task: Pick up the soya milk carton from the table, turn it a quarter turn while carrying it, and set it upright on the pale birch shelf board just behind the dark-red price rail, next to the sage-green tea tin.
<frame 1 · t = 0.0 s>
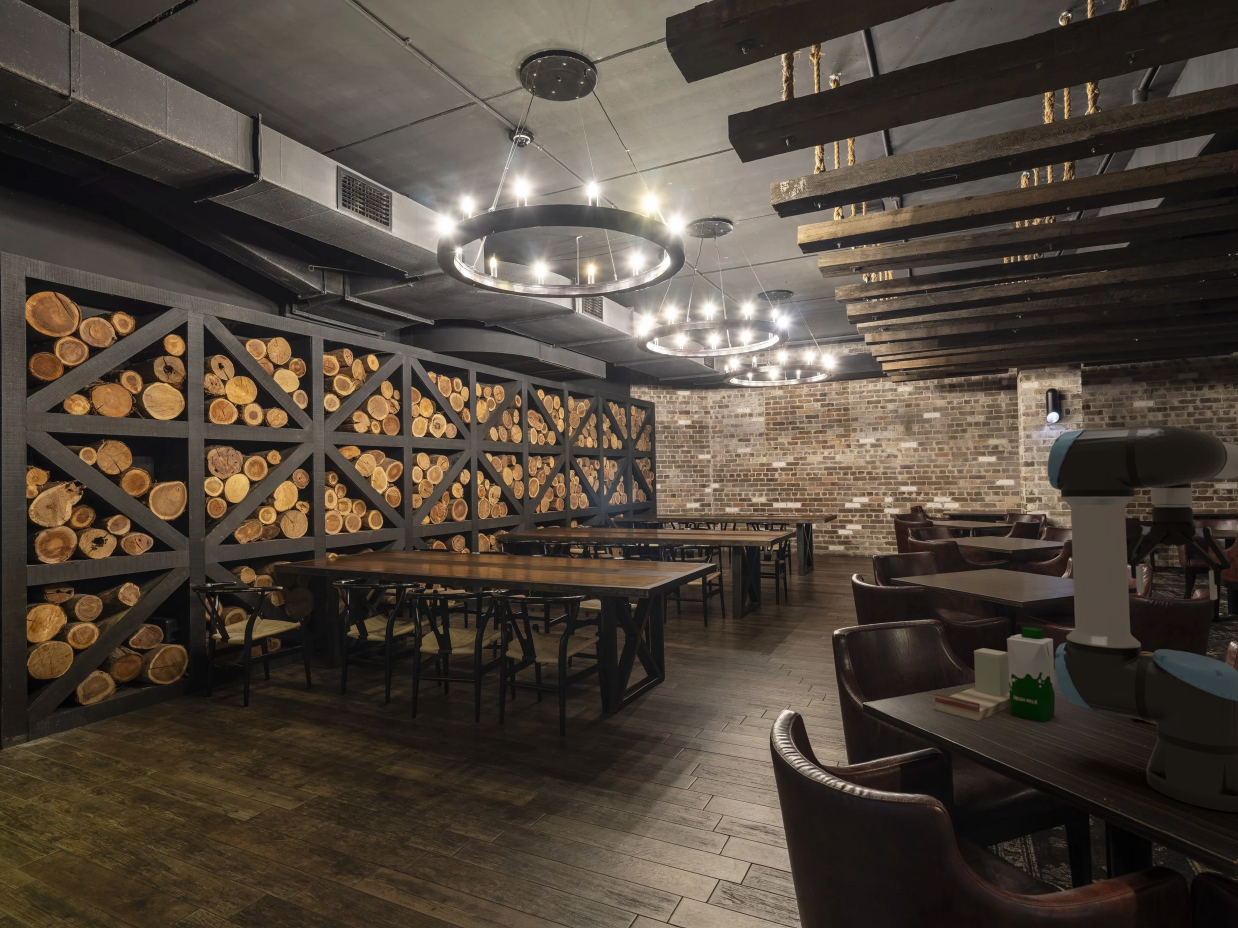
hand: (1175, 595, 157), 28 cm above the table, fingers open, 13 cm apart
tea tin: (992, 692, 168), point 2 cm above the table, touching shelf board
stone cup: (1147, 718, 155), on the table
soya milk: (1032, 716, 156), on the table
shelf board: (977, 706, 163), on the table
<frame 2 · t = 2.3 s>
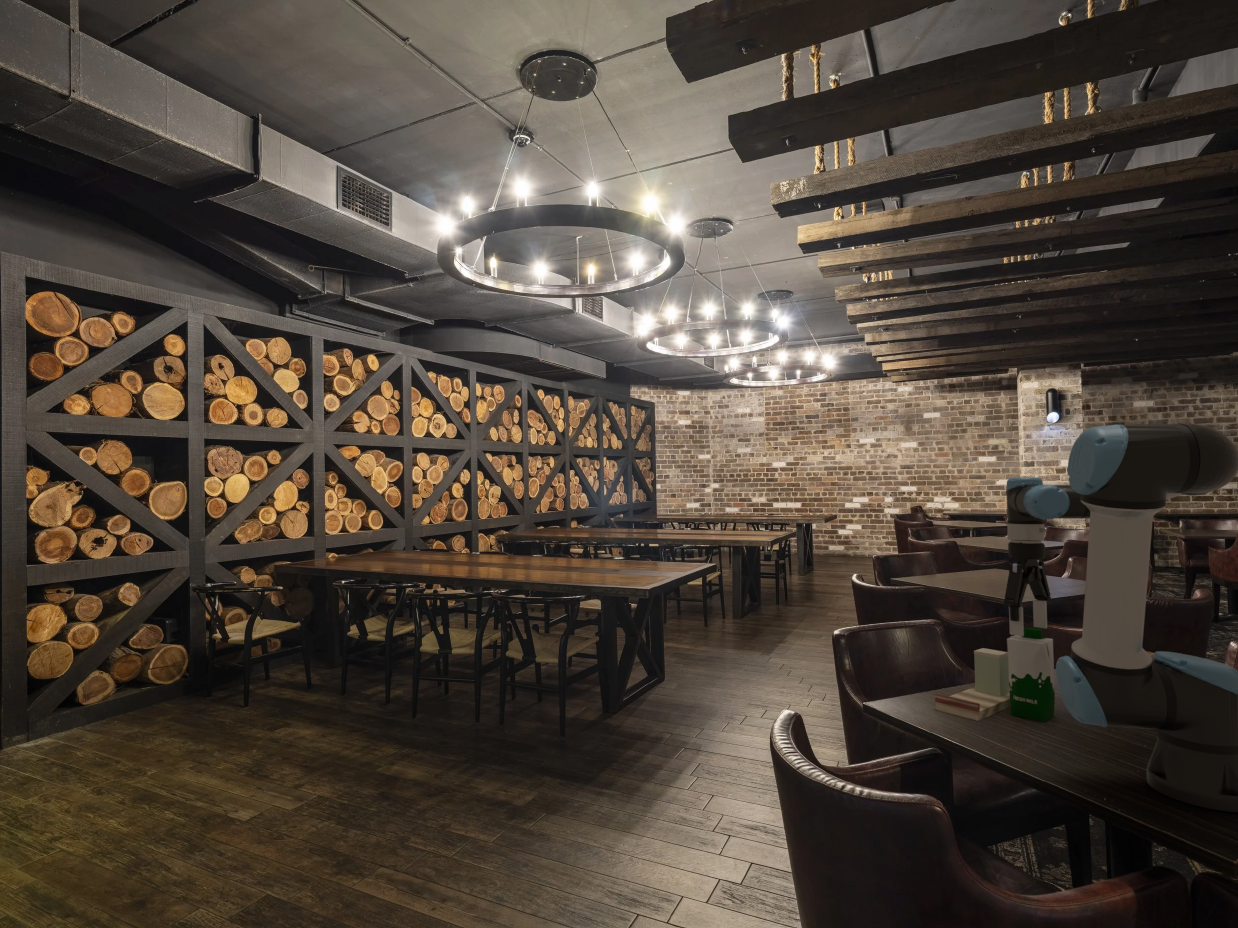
hand: (1028, 631, 157), 20 cm above the table, fingers open, 13 cm apart
nothing on the table moved.
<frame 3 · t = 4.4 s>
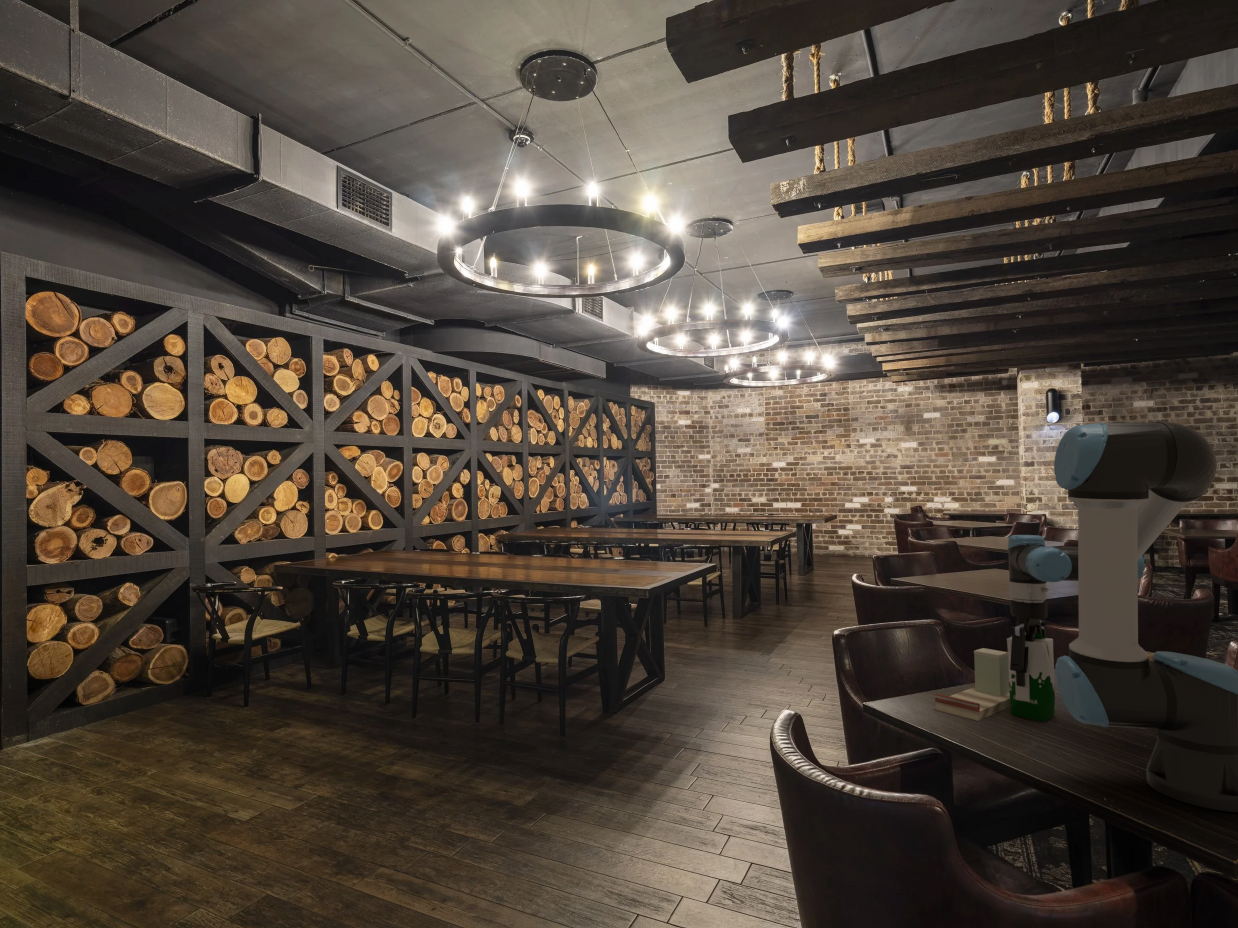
hand: (1031, 696, 156), 4 cm above the table, fingers closed on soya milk, 9 cm apart
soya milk: (1032, 716, 156), on the table, touching gripper
everything else where it was.
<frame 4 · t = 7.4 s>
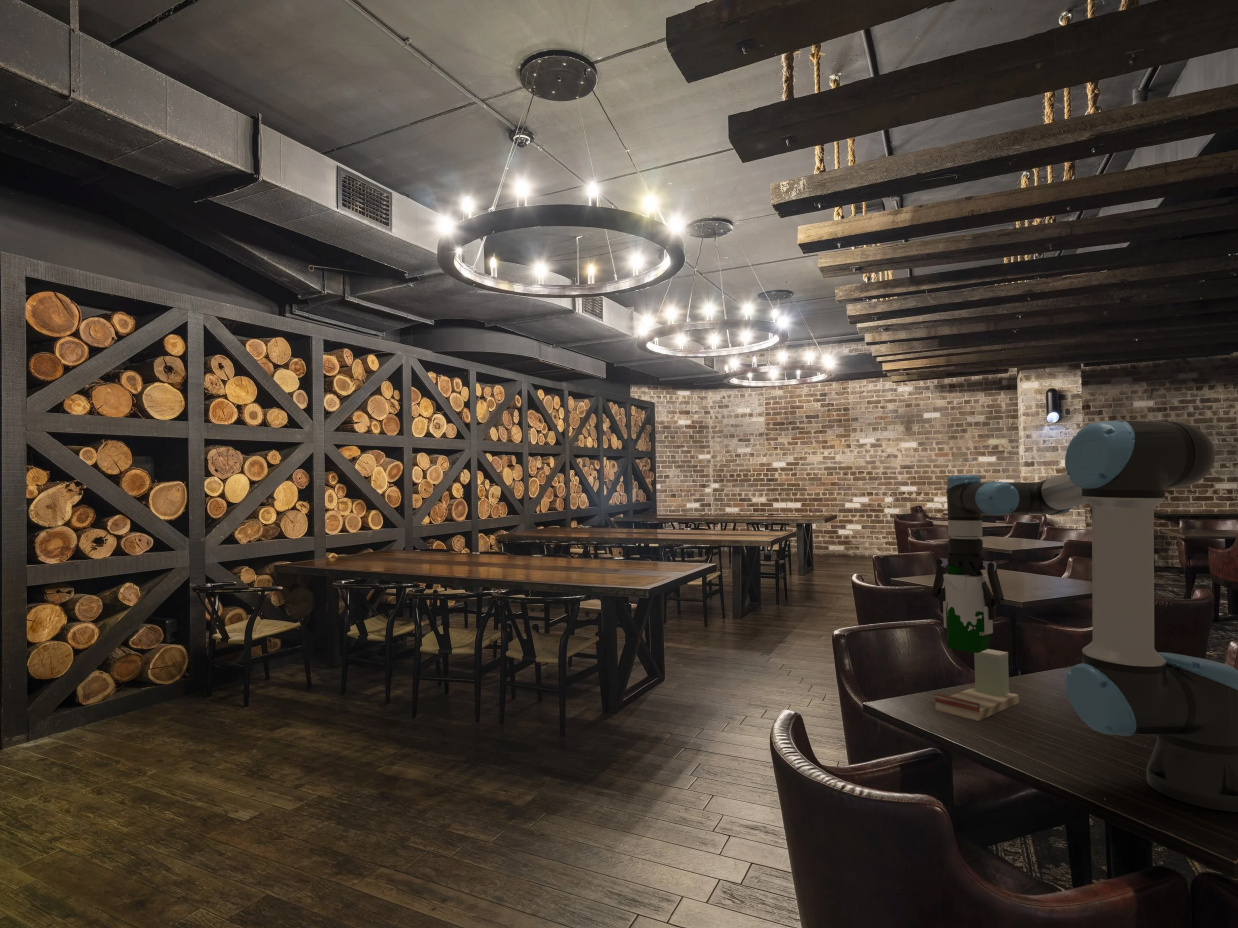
hand: (967, 630, 161), 19 cm above the table, fingers closed on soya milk, 9 cm apart
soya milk: (968, 649, 161), point 14 cm above the table, touching gripper
everything else where it was.
when the fingers open (7 cm above the table, at t = 10.3 s): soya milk stays where it is, resting on shelf board.
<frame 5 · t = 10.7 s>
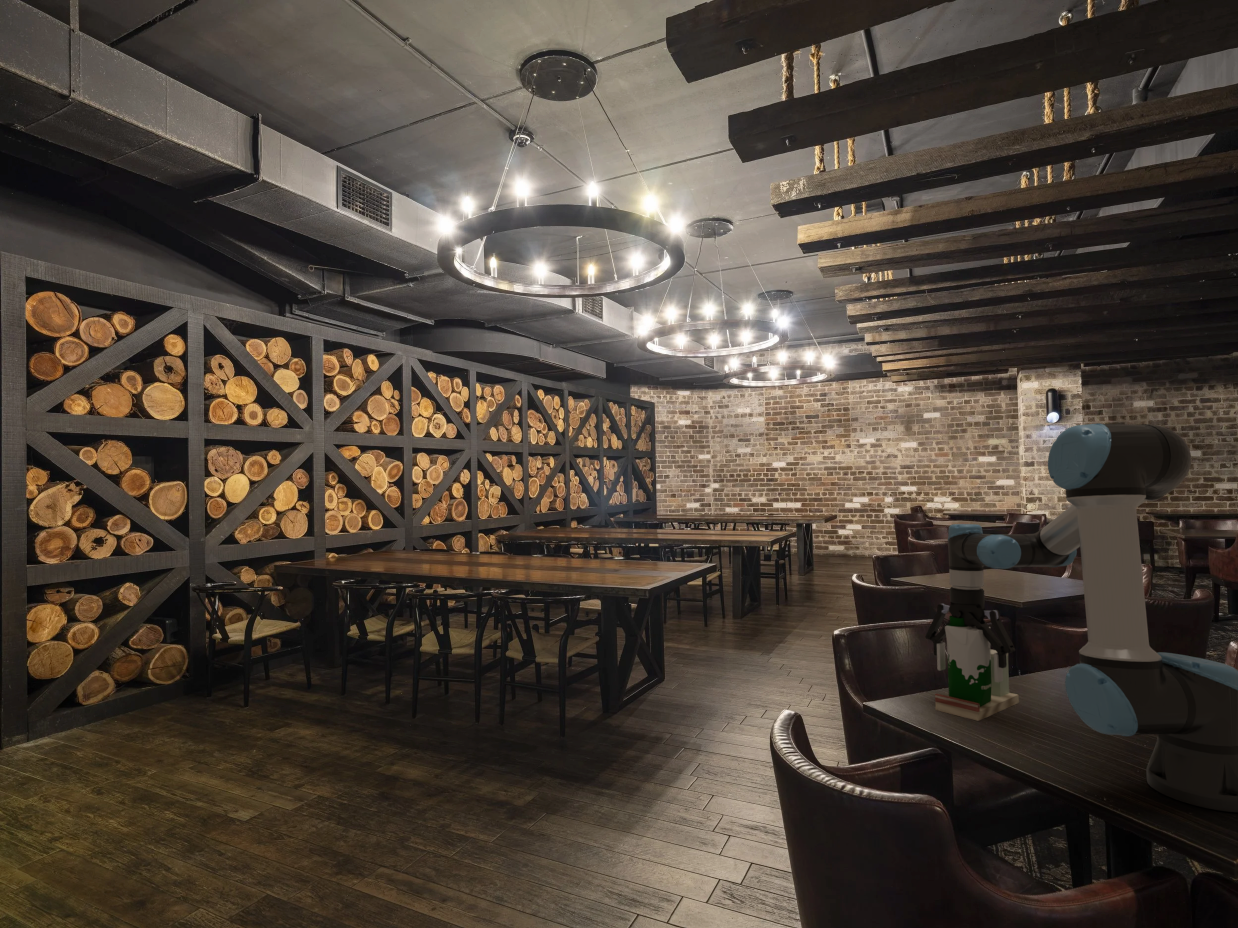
hand: (969, 675, 161), 8 cm above the table, fingers open, 13 cm apart
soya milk: (970, 701, 160), point 2 cm above the table, touching shelf board
everything else where it was.
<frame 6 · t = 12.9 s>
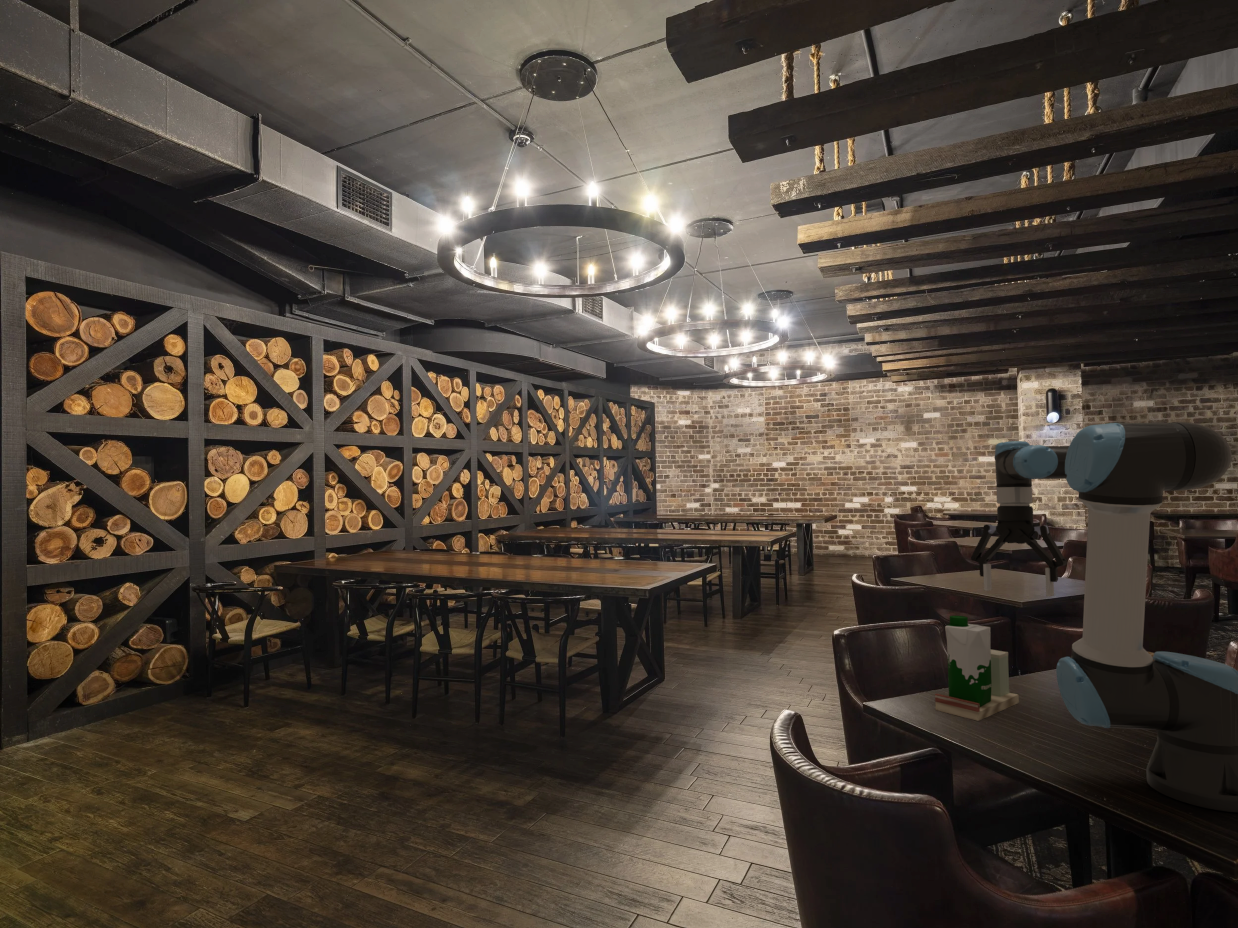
hand: (1018, 593, 160), 28 cm above the table, fingers open, 13 cm apart
nothing on the table moved.
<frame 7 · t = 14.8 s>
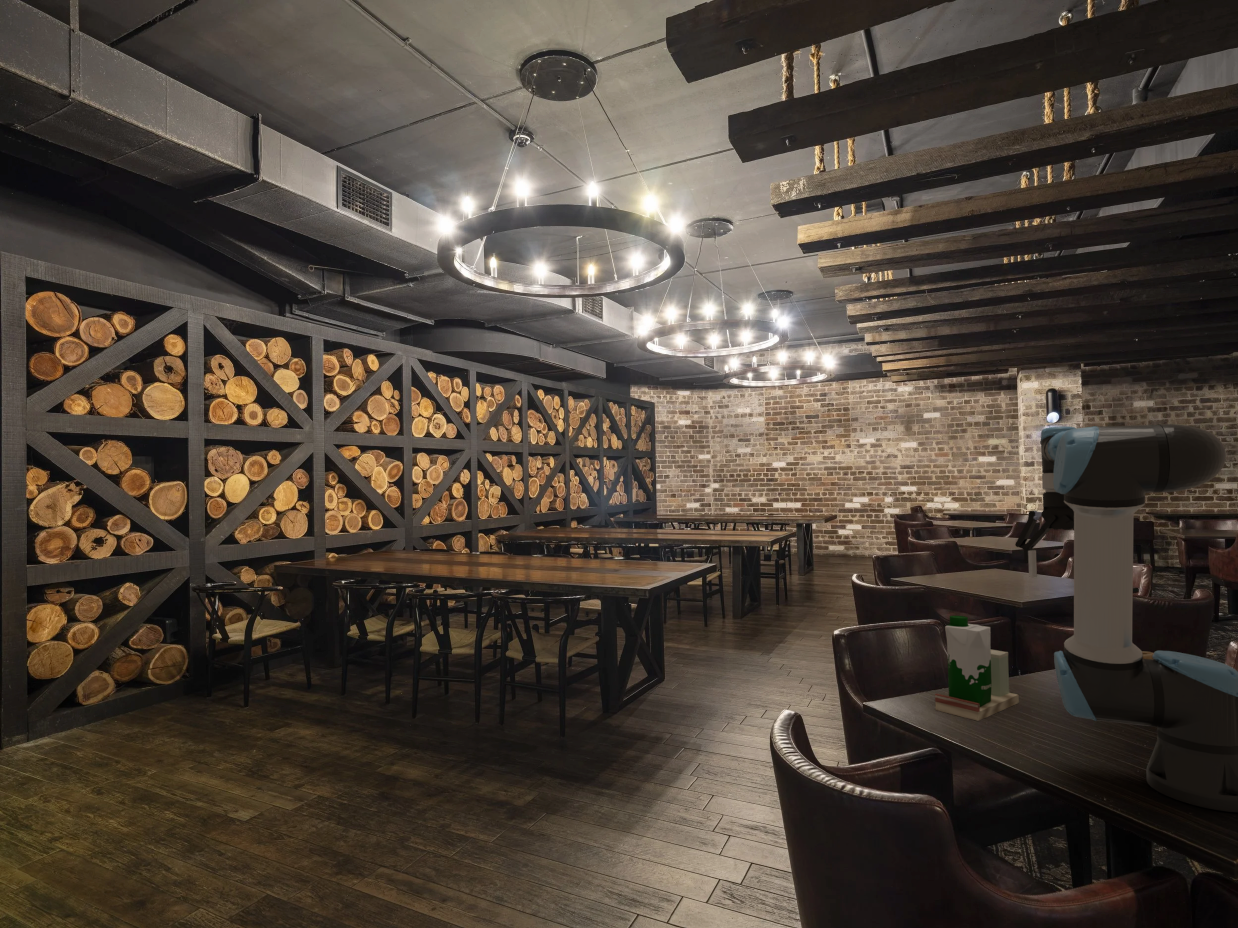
hand: (1064, 579, 158), 32 cm above the table, fingers open, 13 cm apart
nothing on the table moved.
at the end: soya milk inside the target area on the shelf board (0.5 cm from its centre), point 1.8 cm above the shelf board's base; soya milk tilted 0°; the gripper is holding nothing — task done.
